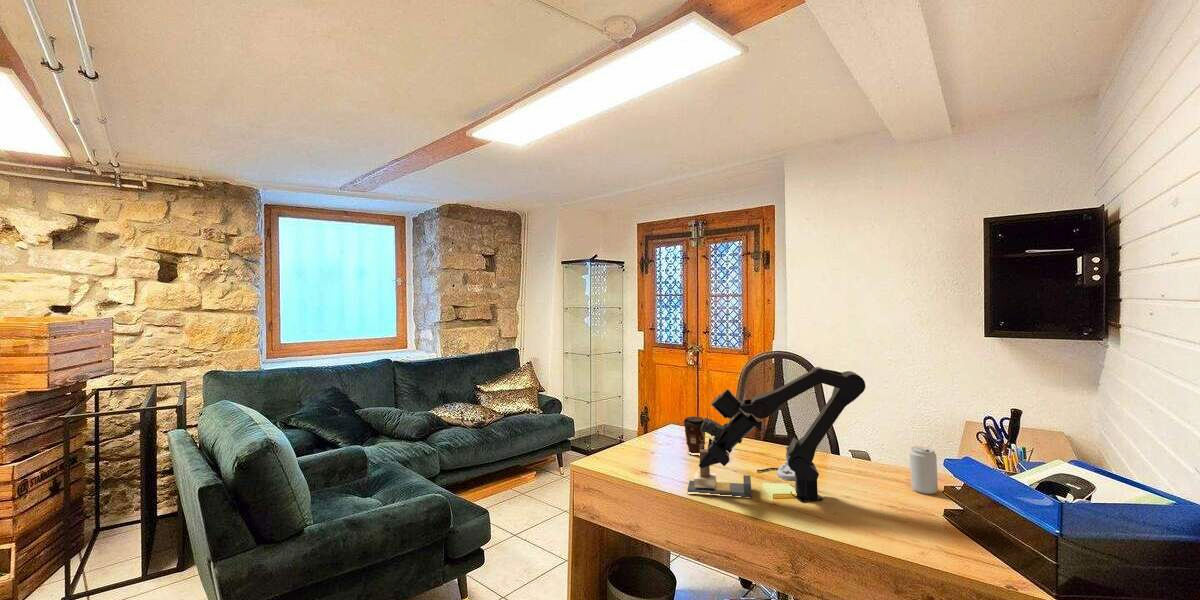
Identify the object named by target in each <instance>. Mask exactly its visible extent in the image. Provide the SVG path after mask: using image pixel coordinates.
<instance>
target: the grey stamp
mask: <svg viewBox="0 0 1200 600" xmlns="http://www.w3.org/2000/svg"><path fill="white" fill-rule="evenodd" d="M699 453H700V456H699V462H700V463H701V461H702V460H703V458H704V457H705V455H706V454H707V453H708V448H707V449H705V448H704V449H700V452H699ZM700 463H699V464H700ZM710 469H711V465H710V466H707V467H704V468H700V467H699V471H695V473H694V479H693V481H694V486H695V487H698V488H714V489H715V488H716V482H717V472H711V470H710Z"/></svg>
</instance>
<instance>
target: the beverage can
mask: <svg viewBox="0 0 1200 600" xmlns="http://www.w3.org/2000/svg"><path fill="white" fill-rule="evenodd" d="M937 459H938V457H937V454H936V451H935V449H933V448H932V447H931V448H930V447H927V446H911V449H910V451H909V461H910V462H909V463H910V464H909V466H910V467H909V468H910V486H911V488H912V489H913V490H914V491H915V492H916V493H919V494H924V495H934V494H936V493H937V492H938V491H939V487H938V486H939V485H938V483H939V482H938V464H937V461H938V460H937Z"/></svg>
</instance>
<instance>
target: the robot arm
mask: <svg viewBox="0 0 1200 600" xmlns="http://www.w3.org/2000/svg"><path fill="white" fill-rule="evenodd" d="M820 384H824V385H827V386H831V387H833V390H832V392H831V395H830V398H829V399H828V401H827V403H826V404H825V405H823V408H822V410H821V411H820V412H819V413H818V415H817V417H816V418H815V420H814V421H813V422H812V424H811V425H810V426H809V428H808V430H807V431H806V433H805V434H804V435H803V436H802V437H800V439H797V438H795V437H793V438H792V439H791V442H790V444H789V445H788V446H786V447H785V449H786V452H785V459H786V462H788V465H789V467H790V469H791V470H792V471H794V472H795V480H794V482H795V483H794V486H795V487H794V488H795V489H794V491H796V493H797V496H796V497H795V498H796V499H798V501H800V503H801V502H802V503H804V502H817V501H824V498H823V497H822V496H821V495H819V494H818V491H819V490H818V478H819V475H820V474H819V472H818V470H817V467H816V464H815V463H814V462H813V460H814V458H815V454H816V450H817V448H818V446H819V445H820V443H821V442H822V441H823V439H824V438H825V436H827V434H828V432H829V431H830V429H831V428H832V427H833V425H834V423H835V422H836V421H837V419H838V417H839V416H840V415H841V414H842V412H843V411H844V410H845V408H846V407H847V406H849V405H850V404H851V403H853V402H854V401H856V399H857V398H858V397H859V396H860V395H862V393H864V392H865V389H866V387H867V386H866V381H865V380H864V378H863V377H861V376H860V375H859V374H857V372H854V371H852V370H850V371H849V370H847V371H843V372H840V371H836V370H832V369H827V368H822V367H820V366H815V367H813V368H812V369H811V370H810V371H807V372H806V373H804V374H802V375H800V376H799V377H797V378H794V379H793V380H791V381H789V382H788V383H785V384H784V385H782V386H780V387H779V388H777V389H774V390H770V391H765V392H763V393H759V394H756V395H754V396H753V397H752V398H748V399H740V400H739V398H737V396H735V395H734V394H733V392H732V391H731V390H730V389H728V388H726V390H724V391H723V392H722V393H721V394H718V395H717V396H716V397H715V398H714V399H713V401H712V402H711V403H710V405H711V406H712V407H713V409H715V410H716V411H717V412H718V414H720V415H721V416H722V417H723V418H725V419H731V420H730V421H729V422H725V423H724V424H723V425H722V424H720V423H718V422H717V421H715V420H713V419H710V418H708V417H704V418H703V419H704V421H703V423H702V426H701V429H700V430H701V431H703V432H705V434H708V435H709V436H711V437H713V438H711V437H709V438H708V444H707V449H708V453H707V454H706V455H705V457H704V458H703V460H702V461H701V463H700V461H699V462H698V463H699V464H698V467H699V469H700V468H704V467H707V466H710V467H711V466H714V465H717V464H721V466H723V467H725V466H727V464H729V462H730V454H731V452H733V448H734V447H736V446H737V444H741V443H742V442H743V439H744V438H745V437H746V436H747V435H748V434H749V433H750V432H751V431H752V430H753V429H755V428H756V429H757V430H758V431H759V432H762V431H763V429H762V425H763V420H764V419H767V418H768V417H770V416H771V415H772V414H774V413H775V412H776V411H777V410H778V409H779V408H780V407H781V406H782V405H783V404H785V403H786V402H789V401H790V400H792V399H794V398H796V397H798V396H799V395H801V394H803V393H805V392H807V391H808V390H810V389H813V388H815V387H816V386H818V385H820Z"/></svg>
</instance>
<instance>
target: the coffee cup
mask: <svg viewBox="0 0 1200 600" xmlns="http://www.w3.org/2000/svg"><path fill="white" fill-rule="evenodd" d="M704 419H705V418H703V417H701V416H694V415H693V416H687V417H685V418H684V421H683V426H684V432H685V443H686V445H687V448H688V450H689V452H691V453H699V452H700V449H705V445H706V432H703V431H701V430H700V429H701V426H702V423H703V421H704Z"/></svg>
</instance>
